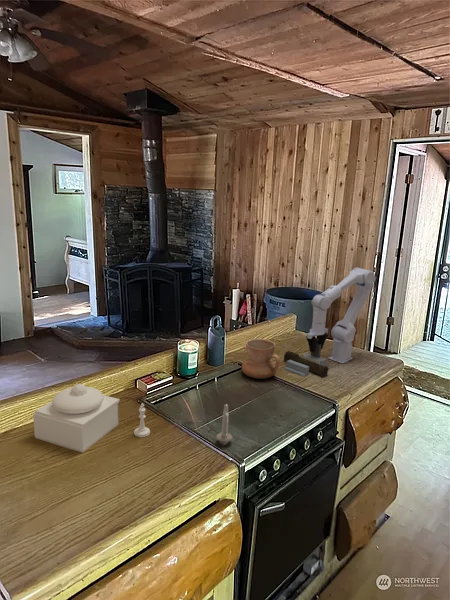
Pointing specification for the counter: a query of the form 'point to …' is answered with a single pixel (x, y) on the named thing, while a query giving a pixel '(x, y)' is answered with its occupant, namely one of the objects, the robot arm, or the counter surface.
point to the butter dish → (76, 418)
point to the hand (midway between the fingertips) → (315, 350)
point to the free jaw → (315, 356)
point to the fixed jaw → (297, 368)
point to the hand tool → (307, 363)
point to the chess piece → (142, 424)
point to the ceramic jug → (260, 359)
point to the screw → (224, 428)
